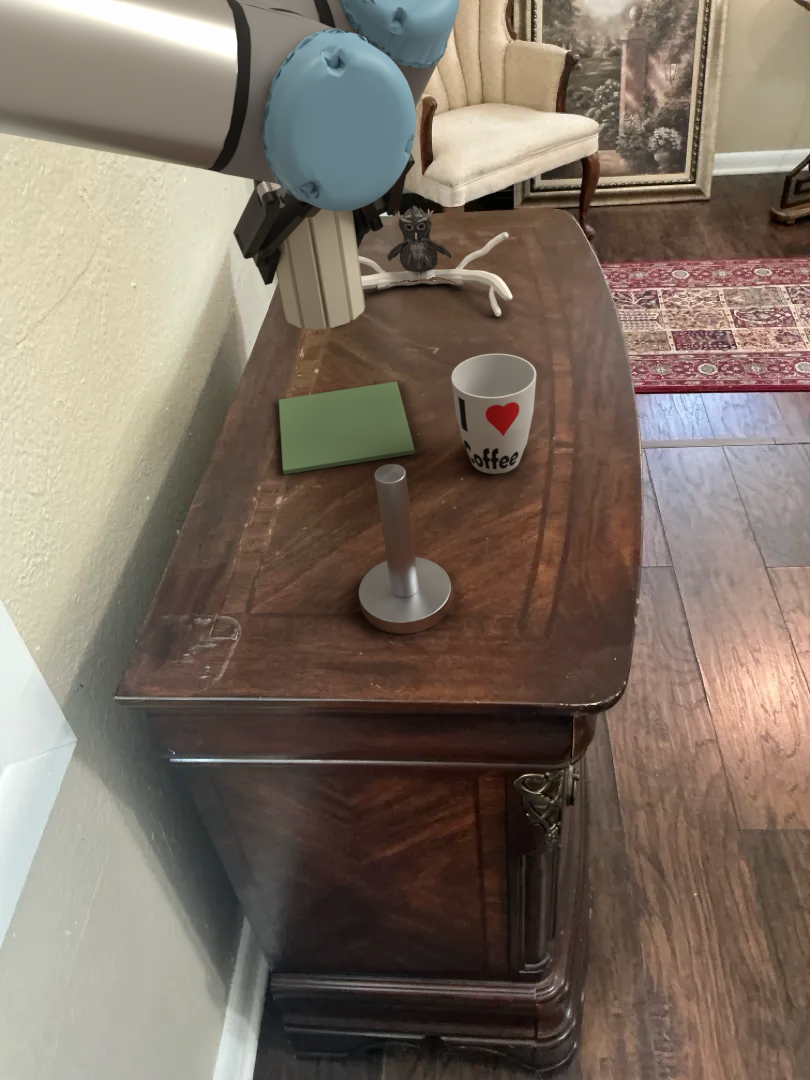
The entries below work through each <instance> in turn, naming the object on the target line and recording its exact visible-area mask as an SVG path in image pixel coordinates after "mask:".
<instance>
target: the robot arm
mask: <svg viewBox="0 0 810 1080" xmlns="http://www.w3.org/2000/svg"><path fill="white" fill-rule="evenodd" d="M460 2H461V0H0V134H4V135H10V136H14V137H15V136H16V137H21V138H26V139H27V138H28V139H33V140H38V141H43V142H49V143H54V144H60V145H67V146H71V147H77V148H82V149H89V150H94V151H100V152H106V153H110V154H117V155H123V156H127V157H132V158H133V157H134V158H139V159H145V160H150V161H155V162H161V163H168V164H173V165H179V166H184V167H189V168H196V169H201V170H205V171H210V172H215V173H219V174H222V175H225V176H226V175H227V176H232V177H237V178H243V179H249V180H252V181H253V188H254V189H253V191H252V192H251V195H250V197H249V199H248V201H247V203H246V204H245V207H244V209H243V211H242V213H241V215H240V217H239V219H238V222H237V223H236V226H235V227H234V230H233V232H232V234H233V237H234V238H235V241H236V243H237V245H238V248H239V250H240V253H241V255H242V257H243V259H245V260H249V259H252V260H253V263H254V265H255V267H256V268H257V270H258V272H259V274H260V276H261V278H262V281H263V283H264V286H267V285H272V284H273V282H274V280H275V276H276V269H277V266H278V262H279V259H280V255H281V253H280V250H279V248H278V247H279V246H280V245H281V244H282V243H283V242H284V240H285V239H286V238H287V237H288V236H289V235H290V234H291V233H292V232H293V231H294V230H295V229H296V228H297V227H298V226H299V225H300V223H301V222H302V221H303V220H304V219H305V218H307V217H314V216H315V215H316V214H317V213H318V212H319V211H320V210H321V209H325V210H330V211H350V210H352V212H353V219H354V227H355V234H356V242H357V249H358V250H359V248H360V246H361V244H362V242H363V240H364V237H365V235H367V234H368V233H370V232H377V231H380V230H382V229H383V228H384V223H383V221H382V219H381V215H383V214H385V213H386V215H387V216H388V217H389V216H394V215H395V214H398V211H399V212H400V207H401V202H402V198H403V193H404V188H405V185H406V184H405V183H406V178H407V175H408V173H409V172H410V171H411V170H412V168H413V167H414V165H415V164H416V161H415V158H414V156H413V154H412V150H413V148H414V140H415V137H416V128H417V113H416V109H417V106H418V105H419V102H420V100H421V98H422V97H423V94H424V92H425V90H426V88H427V86H428V84H429V82H430V80H431V78H432V76H433V74H434V72H435V70H436V67H437V66H438V64H439V62H440V61H441V59H443V57H444V56H445V53H446V51H447V49H448V42H449V39H450V36H451V33H452V31H453V28H454V26H455V23H456V20H457V15H458V13H459V12H458V11H459V9H460Z"/></svg>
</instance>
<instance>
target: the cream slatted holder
mask: <svg viewBox="0 0 810 1080" xmlns="http://www.w3.org/2000/svg"><path fill="white" fill-rule="evenodd" d="M278 248H279V250H280V253H281V255H280V259H279V262H278V266H277V269H276V272H275V275H276V278H277V283H278V284H277V285H278V289H279V292H280V298H281V304H282V308H283V313H284V317H285V321H286V322H287V323H288V324H290V325H292V326H294V327H296V328H298V329H303V328H304V329H305V330H326V329H327V327H328V328H330V329H333V328H336V327H340V326H342V325H346V324H349V323H351V321H355V320H356V319H357V318H358V317H359V316H360V315H361V314H363V313H364V312H365V309H366V302H365V293H364V289H363V286H362V279H361V276H362V272H361V263H359V257H358V256H359V248H358V249H357V242H356V234H355V227H354V219H353V212H352V210H350V211H330V210H325V209H321V210H320V211H319V212H318V213H317V214H316V215H315V216H314V217H307V218H305V219H304V220H303V221H302V222H301V223H300V225H299V226H298V227H297V228H296V229H295V230H294V231H293V232H292V233H291V234H290V235H289V236H288V237H287V238H286V239H285V240H284V242H283V243H282V244H281V245H280V246H279V247H278Z"/></svg>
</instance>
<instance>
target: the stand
mask: <svg viewBox="0 0 810 1080" xmlns="http://www.w3.org/2000/svg"><path fill="white" fill-rule="evenodd" d="M407 480H408V479H407V471H406V469H405V468H404V467H403V466H401V465H400V464H395V463H388V464H384V465H381V466H380V467H378V468H377V469H376V470H375V472H374V481H375V488H376V495H377V502H378V509H379V517H380V524H381V530H382V537H383V544H384V551H385V558H386V560H384V561H382V562H380V563H379V564H377V565H375V566H373V567H372V568H370V570H369V571H368V572H367V573H366V574H365V575H364V576H363V578H362V580H361V581H360V584H359V587H358V599H359V604H360V610H361V612H362V614H363V617H364V618H365V619H366V621H367V622H368V623H370V624H371V625H372V626H373V627H375V628H376V629H378V630H381V631H382V632H386V633H390V634H396V635H409V634H415V633H419V632H422V631H425V630H428V629H430V628H432V627H433V626H435V625H437V624H438V623H439V622H440V621H442V620H443V619H444V618H445V617H446V615H447V614H448V612H449V610H450V608H451V606H452V601H453V593H452V583H451V579H450V576H449V575H448V573H447V572H446V571H445V569H444V568H443V567H442V566H441V565H439V564H437V563H436V562H434V561H432V560H431V559H427V558H423V557H419V556H416V551H415V544H414V542H415V541H414V535H413V523H412V517H411V515H412V514H411V508H410V507H411V506H410V499H409V489H408V481H407Z"/></svg>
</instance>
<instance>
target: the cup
mask: <svg viewBox="0 0 810 1080" xmlns="http://www.w3.org/2000/svg"><path fill="white" fill-rule="evenodd" d="M536 385H537V370H536V368H535V366H534V365H533V364H532V363H531V362H529V360H526V359H525V358H522V357H520V356H517V355H513V354H508V353H486V354H479V355H476V356H472V357H471V358H468V359H465V360H463V361H462V362H460V363H459V364H458V365H456V367H454V369H453V370H452V374H451V386H452V394H453V402H454V411H455V416H456V417H455V418H456V420H457V424H458V428H459V431H460V433H459V434H460V436H461V440H462V444H463V446H464V449H465V452H466V453H467V456H468V458H469V460H470V462H471V464H472V466H473V468H475V470H478V471H480V472H482V473H486V474H489V475H490V474H492V475H497V474H505V473H507V472H510V471H512V470H514V469H516V467H518V466H519V464H520V461H521V459H522V456H523V454H524V451H525V448H526V446H527V444H528V439H529V434H530V431H531V424H532V420H533V415H534V407H535V397H536V396H535V395H536Z"/></svg>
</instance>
